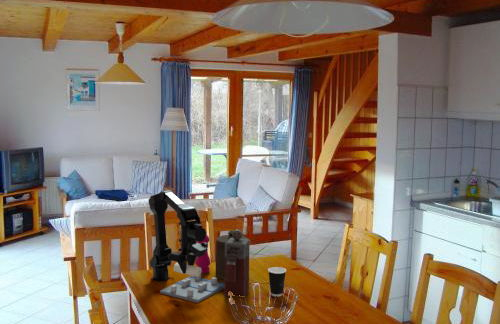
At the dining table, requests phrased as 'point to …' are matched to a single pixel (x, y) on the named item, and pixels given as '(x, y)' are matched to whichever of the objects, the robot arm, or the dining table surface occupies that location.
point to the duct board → (194, 288)
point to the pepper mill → (204, 258)
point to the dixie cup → (276, 280)
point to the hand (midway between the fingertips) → (187, 272)
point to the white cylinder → (189, 270)
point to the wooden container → (222, 254)
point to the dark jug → (237, 265)
